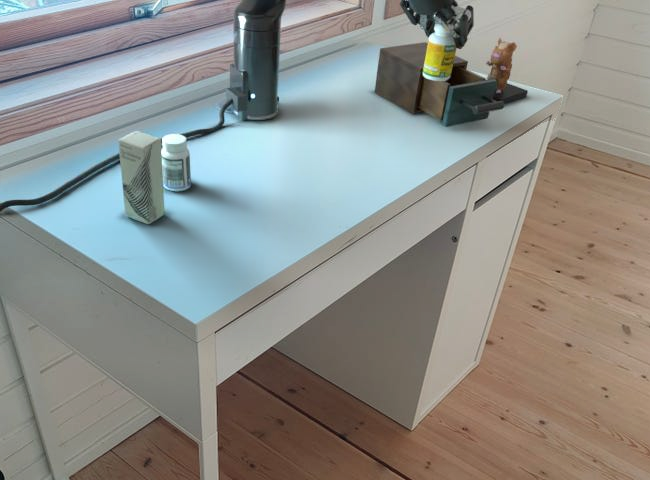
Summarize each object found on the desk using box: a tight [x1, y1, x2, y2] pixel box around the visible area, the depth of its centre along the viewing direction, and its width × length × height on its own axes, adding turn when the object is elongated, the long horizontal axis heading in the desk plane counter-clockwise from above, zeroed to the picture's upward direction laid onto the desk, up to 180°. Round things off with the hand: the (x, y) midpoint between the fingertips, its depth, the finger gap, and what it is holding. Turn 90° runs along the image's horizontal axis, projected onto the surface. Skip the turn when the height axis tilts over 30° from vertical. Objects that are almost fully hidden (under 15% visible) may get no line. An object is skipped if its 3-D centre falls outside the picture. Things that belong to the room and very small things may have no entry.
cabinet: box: [374, 41, 469, 116], centre depth 150 cm, size 15×13×10 cm
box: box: [118, 130, 166, 225], centre depth 105 cm, size 5×4×13 cm
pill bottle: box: [161, 133, 192, 192], centre depth 115 cm, size 5×5×8 cm
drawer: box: [417, 66, 505, 128], centre depth 142 cm, size 19×11×8 cm, turn 28°
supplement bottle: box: [423, 21, 458, 81], centre depth 127 cm, size 5×5×10 cm
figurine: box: [485, 37, 529, 106], centre depth 153 cm, size 10×10×12 cm
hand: (447, 40), depth 127 cm, fingers closed on supplement bottle, 5 cm apart
